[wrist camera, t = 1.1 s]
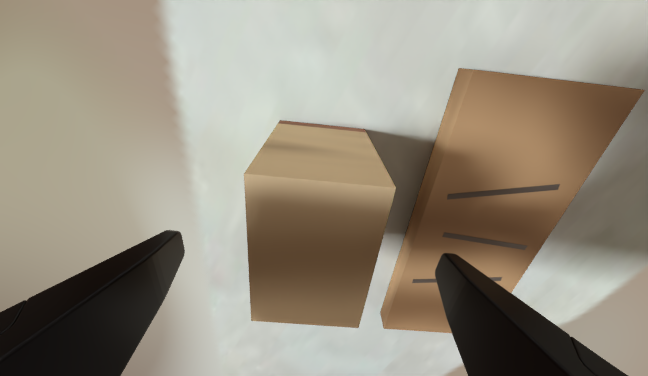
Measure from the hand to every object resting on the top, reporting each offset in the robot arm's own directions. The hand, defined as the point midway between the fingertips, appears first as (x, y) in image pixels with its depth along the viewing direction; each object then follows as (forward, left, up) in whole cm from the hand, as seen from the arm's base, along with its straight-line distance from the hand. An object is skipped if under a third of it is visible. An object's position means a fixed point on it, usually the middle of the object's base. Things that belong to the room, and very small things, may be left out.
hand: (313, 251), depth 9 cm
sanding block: (0, 0, -5) cm, 5 cm away
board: (-2, -9, -5) cm, 11 cm away
